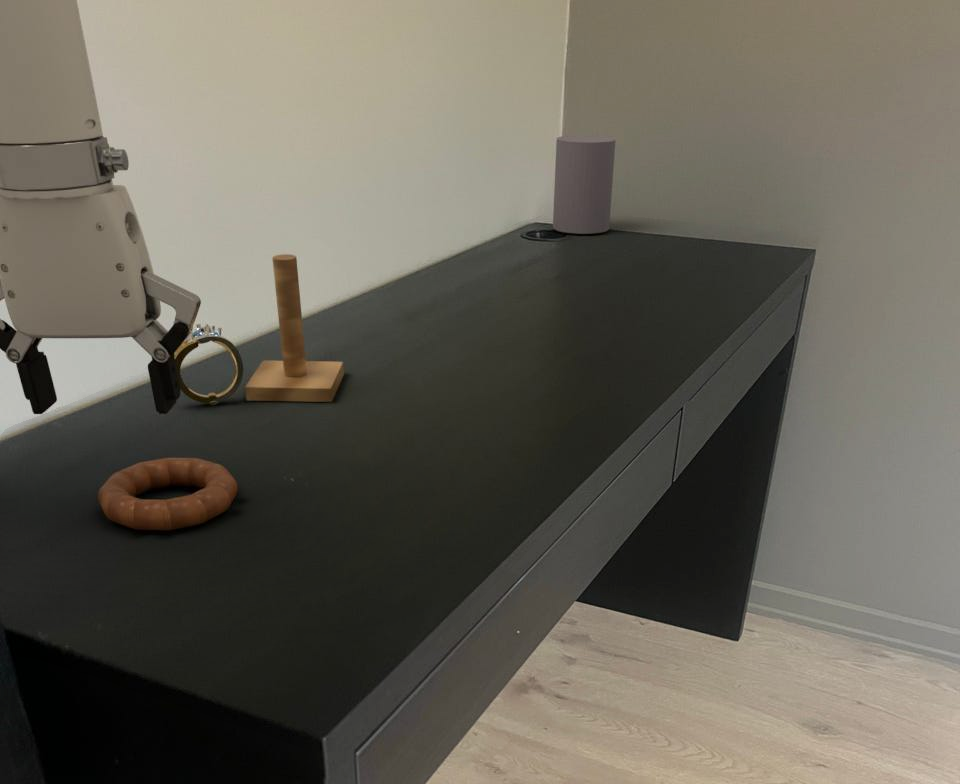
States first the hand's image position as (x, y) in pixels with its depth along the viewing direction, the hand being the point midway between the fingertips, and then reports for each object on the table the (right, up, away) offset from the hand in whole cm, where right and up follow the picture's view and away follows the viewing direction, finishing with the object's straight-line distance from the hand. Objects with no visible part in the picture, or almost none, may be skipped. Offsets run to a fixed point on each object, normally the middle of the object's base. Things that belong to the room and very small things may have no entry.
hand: (106, 408), depth 77 cm
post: (+9, +9, +30) cm, 32 cm away
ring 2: (+2, +6, +25) cm, 26 cm away
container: (+48, +57, +104) cm, 127 cm away
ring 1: (+4, -6, +4) cm, 8 cm away
